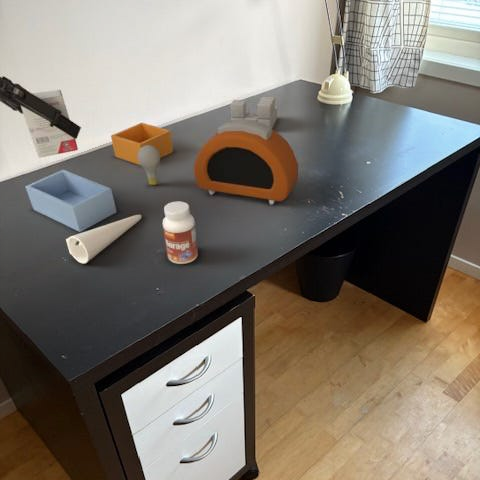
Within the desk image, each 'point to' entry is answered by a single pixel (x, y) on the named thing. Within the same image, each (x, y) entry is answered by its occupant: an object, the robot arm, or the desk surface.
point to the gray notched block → (264, 108)
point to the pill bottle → (179, 233)
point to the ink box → (49, 127)
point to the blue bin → (71, 199)
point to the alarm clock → (247, 162)
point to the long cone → (98, 238)
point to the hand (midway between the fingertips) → (65, 128)
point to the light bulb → (149, 162)
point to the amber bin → (141, 141)
